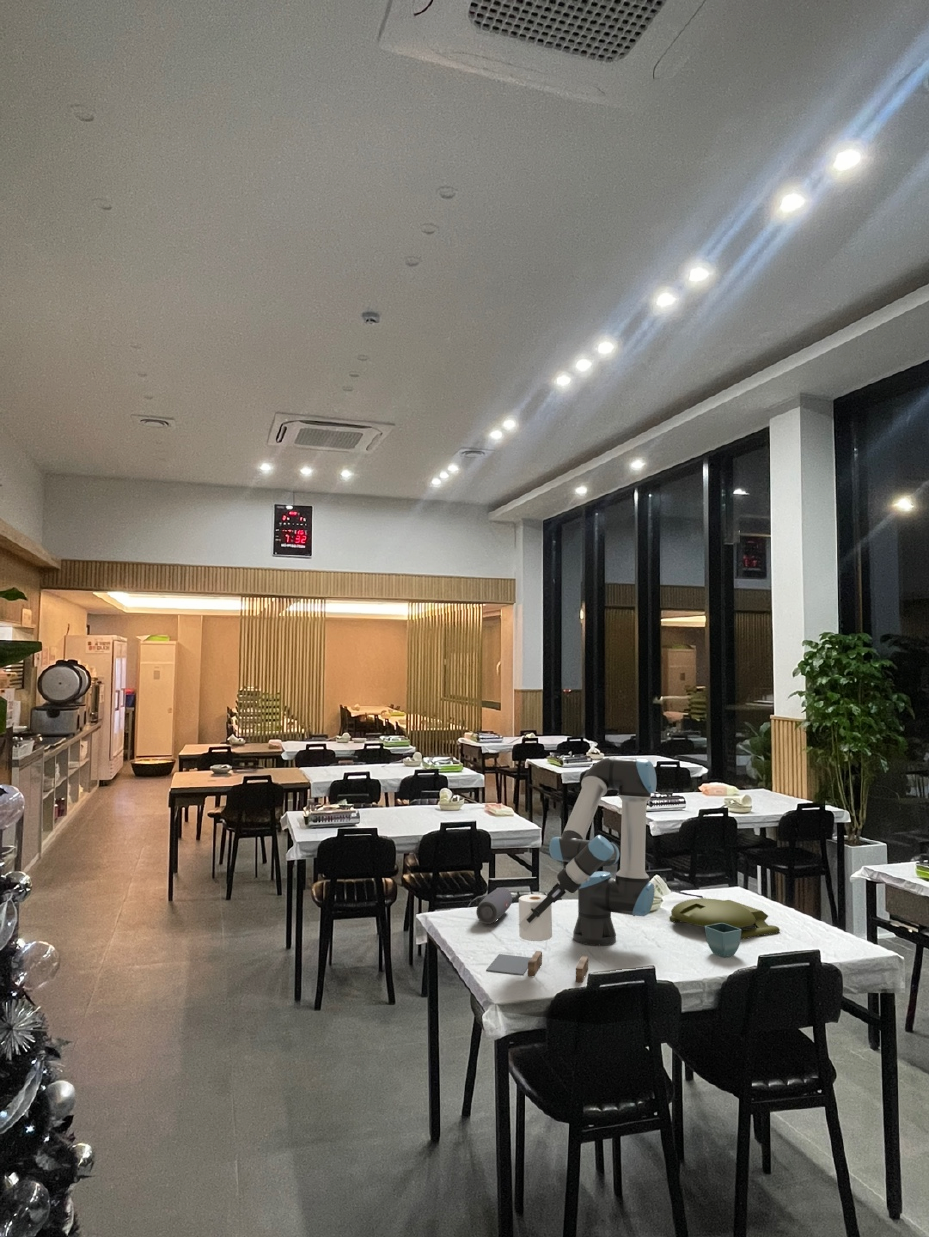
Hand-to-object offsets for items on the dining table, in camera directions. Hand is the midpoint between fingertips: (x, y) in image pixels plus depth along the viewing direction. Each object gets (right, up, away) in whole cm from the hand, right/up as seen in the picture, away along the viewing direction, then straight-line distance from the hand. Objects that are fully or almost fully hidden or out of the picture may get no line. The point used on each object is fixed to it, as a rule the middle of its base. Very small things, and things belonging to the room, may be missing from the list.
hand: (526, 922), depth 260 cm
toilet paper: (+3, -4, -1) cm, 5 cm away
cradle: (+10, -14, -4) cm, 18 cm away
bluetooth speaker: (-8, -19, +54) cm, 58 cm away
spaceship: (+76, -20, +48) cm, 92 cm away
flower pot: (+68, -17, +16) cm, 72 cm away
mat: (-5, -15, +3) cm, 16 cm away
